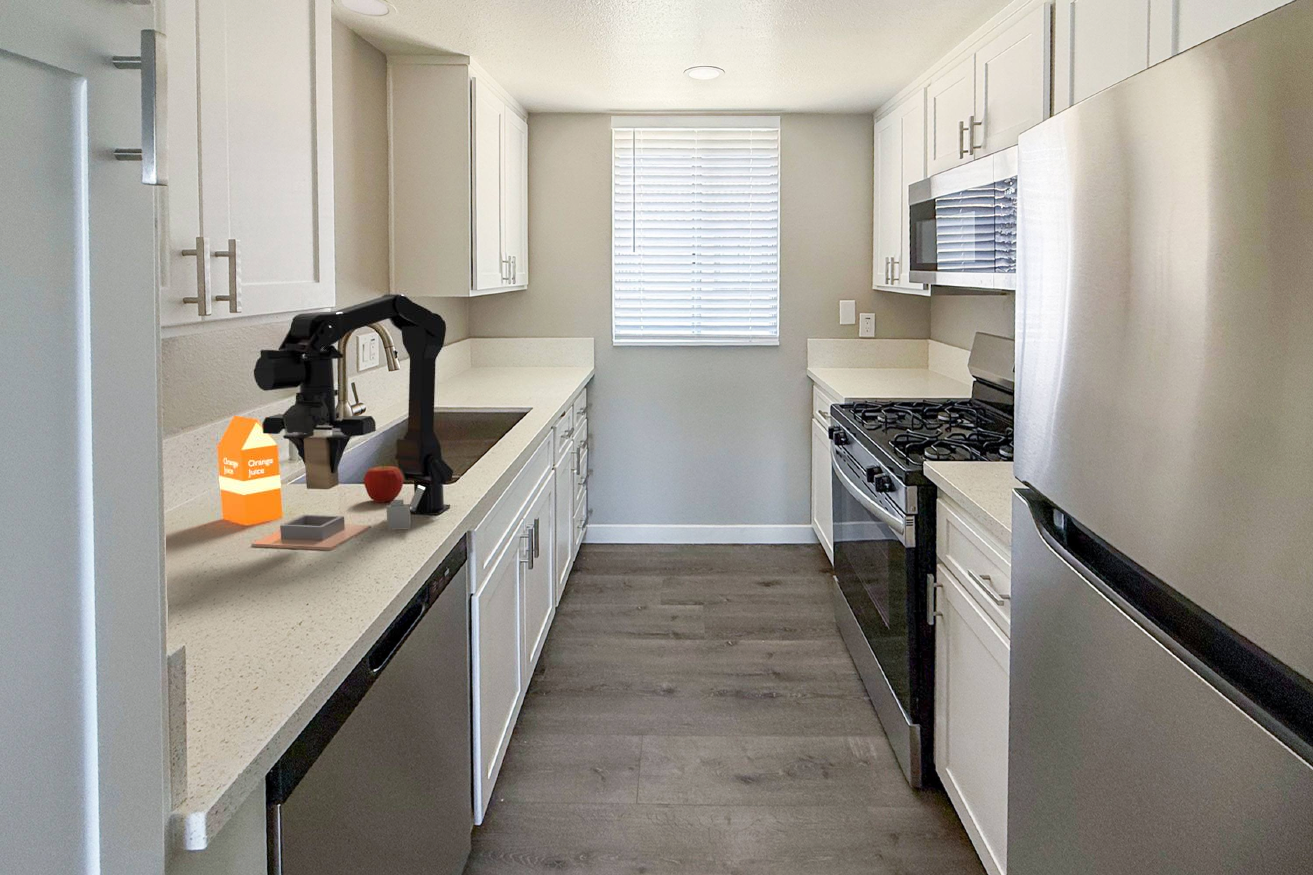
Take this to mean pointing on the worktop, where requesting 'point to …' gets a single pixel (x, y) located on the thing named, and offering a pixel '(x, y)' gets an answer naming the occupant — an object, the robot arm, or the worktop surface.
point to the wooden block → (319, 463)
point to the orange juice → (249, 473)
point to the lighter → (402, 511)
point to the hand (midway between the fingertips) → (322, 472)
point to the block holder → (312, 533)
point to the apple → (383, 483)
